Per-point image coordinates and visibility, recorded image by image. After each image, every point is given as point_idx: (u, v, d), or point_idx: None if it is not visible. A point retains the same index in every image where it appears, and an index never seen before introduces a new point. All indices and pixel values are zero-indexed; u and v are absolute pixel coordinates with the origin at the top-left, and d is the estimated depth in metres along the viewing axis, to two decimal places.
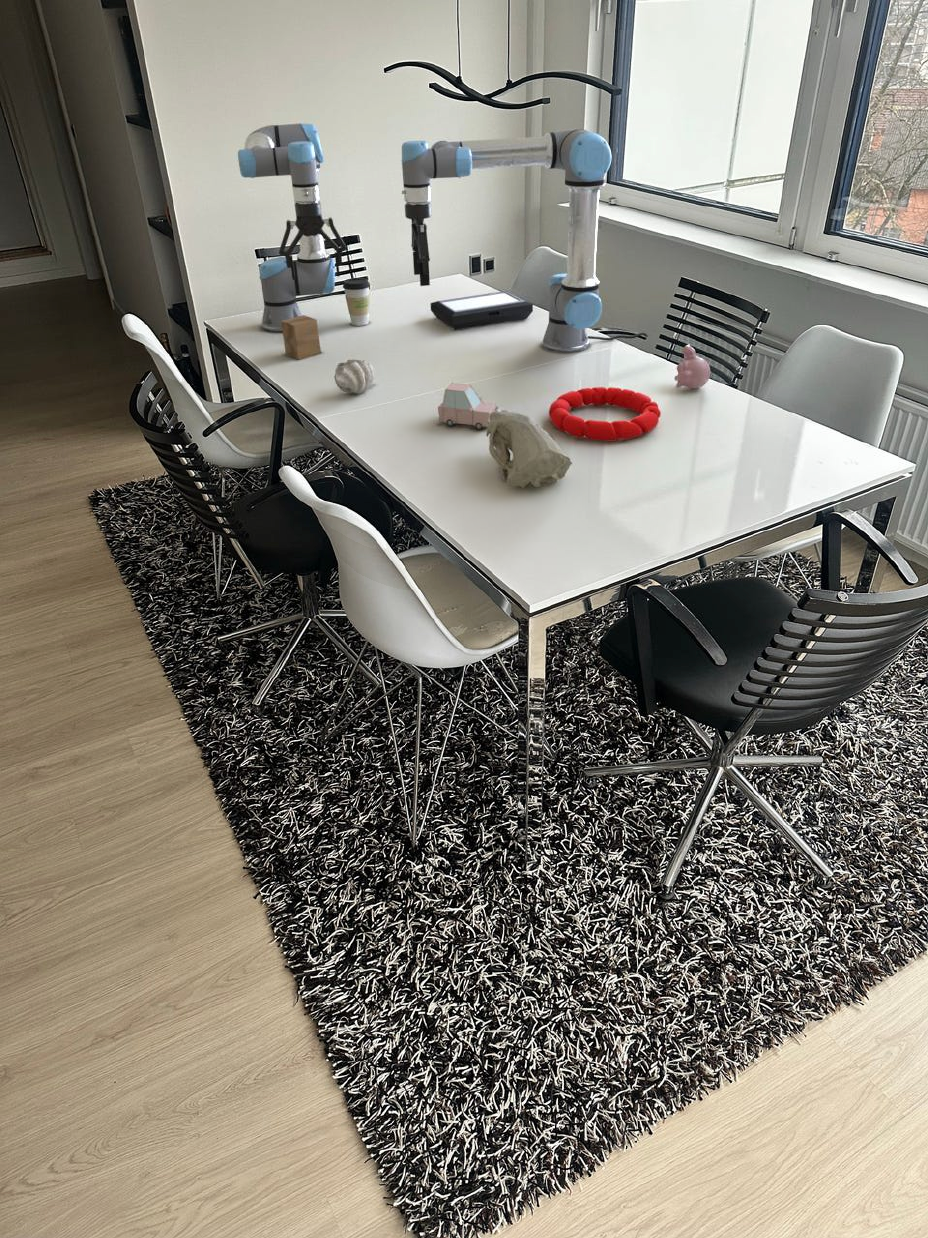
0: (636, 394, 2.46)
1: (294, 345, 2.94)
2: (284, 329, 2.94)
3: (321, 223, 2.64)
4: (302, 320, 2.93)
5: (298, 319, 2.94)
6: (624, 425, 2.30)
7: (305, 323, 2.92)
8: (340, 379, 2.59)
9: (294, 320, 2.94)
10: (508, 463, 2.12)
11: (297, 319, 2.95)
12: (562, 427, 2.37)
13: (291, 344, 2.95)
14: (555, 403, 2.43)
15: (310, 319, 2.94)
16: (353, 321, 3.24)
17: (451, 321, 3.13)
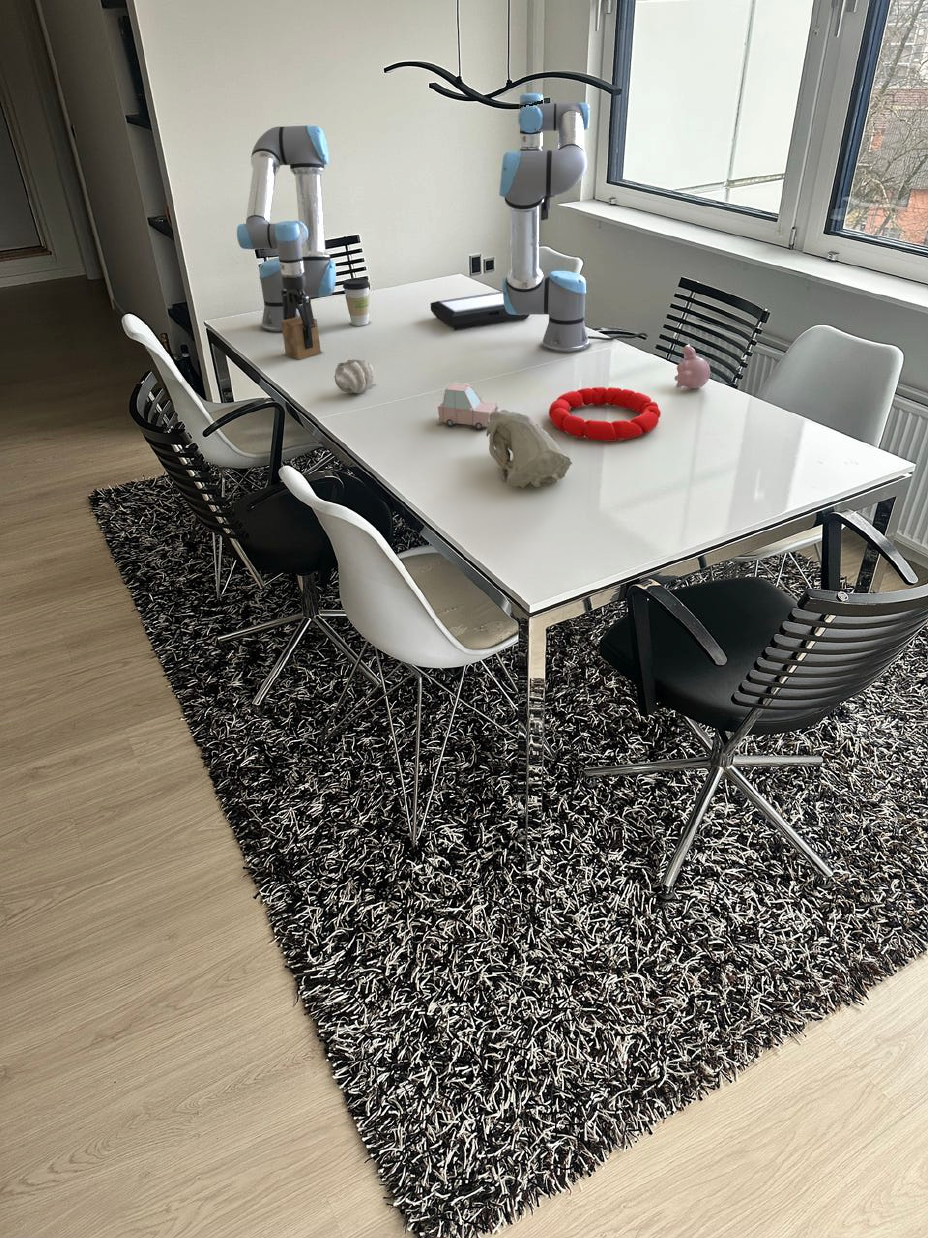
0: (636, 394, 2.46)
1: (294, 345, 2.94)
2: (284, 329, 2.94)
3: (298, 296, 2.86)
4: None
5: (298, 319, 2.94)
6: (624, 425, 2.30)
7: None
8: (340, 379, 2.59)
9: (294, 320, 2.94)
10: (508, 463, 2.12)
11: (297, 319, 2.95)
12: (562, 427, 2.37)
13: (291, 344, 2.95)
14: (555, 403, 2.43)
15: None
16: (353, 321, 3.24)
17: (451, 321, 3.13)
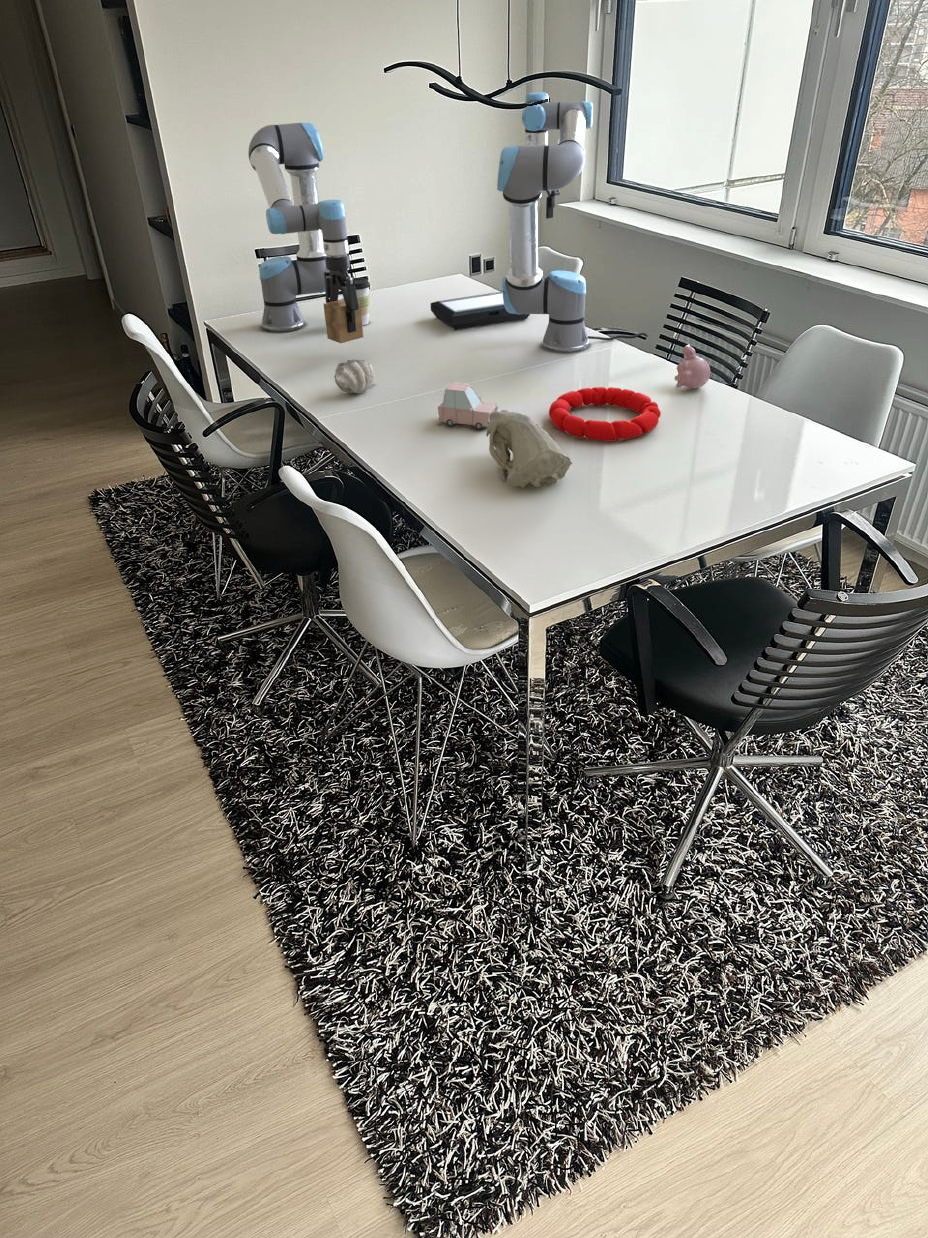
0: (636, 394, 2.46)
1: (337, 328, 2.85)
2: (326, 312, 2.85)
3: (342, 277, 2.77)
4: None
5: (341, 302, 2.85)
6: (624, 425, 2.30)
7: None
8: (340, 379, 2.59)
9: (337, 302, 2.85)
10: (508, 463, 2.12)
11: (340, 301, 2.86)
12: (562, 427, 2.37)
13: (333, 328, 2.86)
14: (555, 403, 2.43)
15: None
16: None
17: (451, 321, 3.13)
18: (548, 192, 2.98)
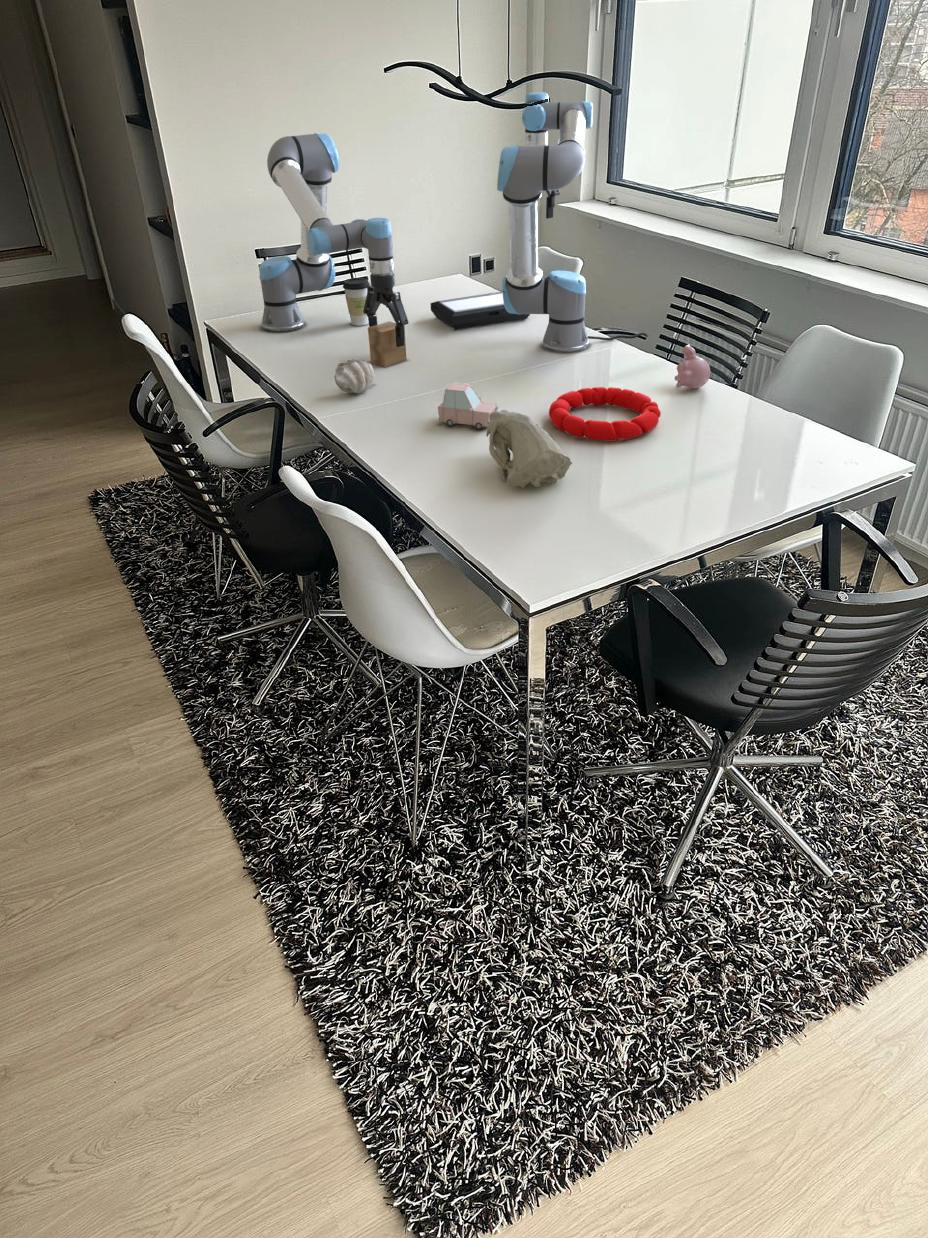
0: (636, 394, 2.46)
1: (381, 352, 2.85)
2: (371, 336, 2.85)
3: (387, 295, 2.76)
4: (389, 326, 2.84)
5: (385, 326, 2.85)
6: (624, 425, 2.30)
7: (393, 330, 2.83)
8: (340, 379, 2.59)
9: (381, 326, 2.85)
10: (508, 463, 2.12)
11: (384, 325, 2.86)
12: (562, 427, 2.37)
13: (377, 352, 2.86)
14: (555, 403, 2.43)
15: None
16: (353, 321, 3.24)
17: (451, 321, 3.13)
18: (548, 192, 2.98)
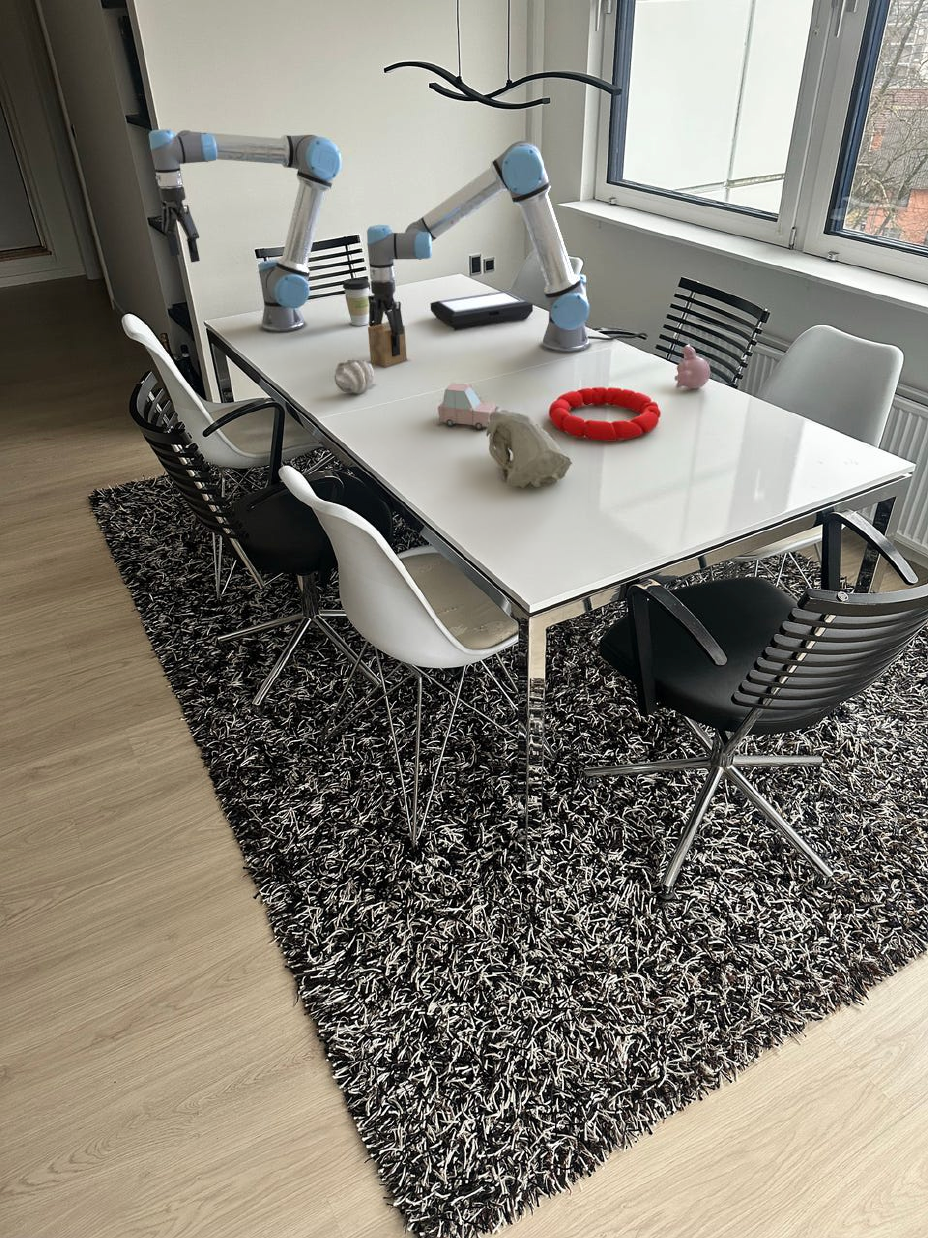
0: (636, 394, 2.46)
1: (381, 352, 2.85)
2: (371, 336, 2.85)
3: (177, 209, 2.77)
4: (389, 326, 2.84)
5: (385, 326, 2.85)
6: (624, 425, 2.30)
7: None
8: (340, 379, 2.59)
9: (381, 326, 2.85)
10: (508, 463, 2.12)
11: (384, 325, 2.86)
12: (562, 427, 2.37)
13: (377, 352, 2.86)
14: (555, 403, 2.43)
15: None
16: (353, 321, 3.24)
17: (451, 321, 3.13)
18: (392, 330, 2.81)
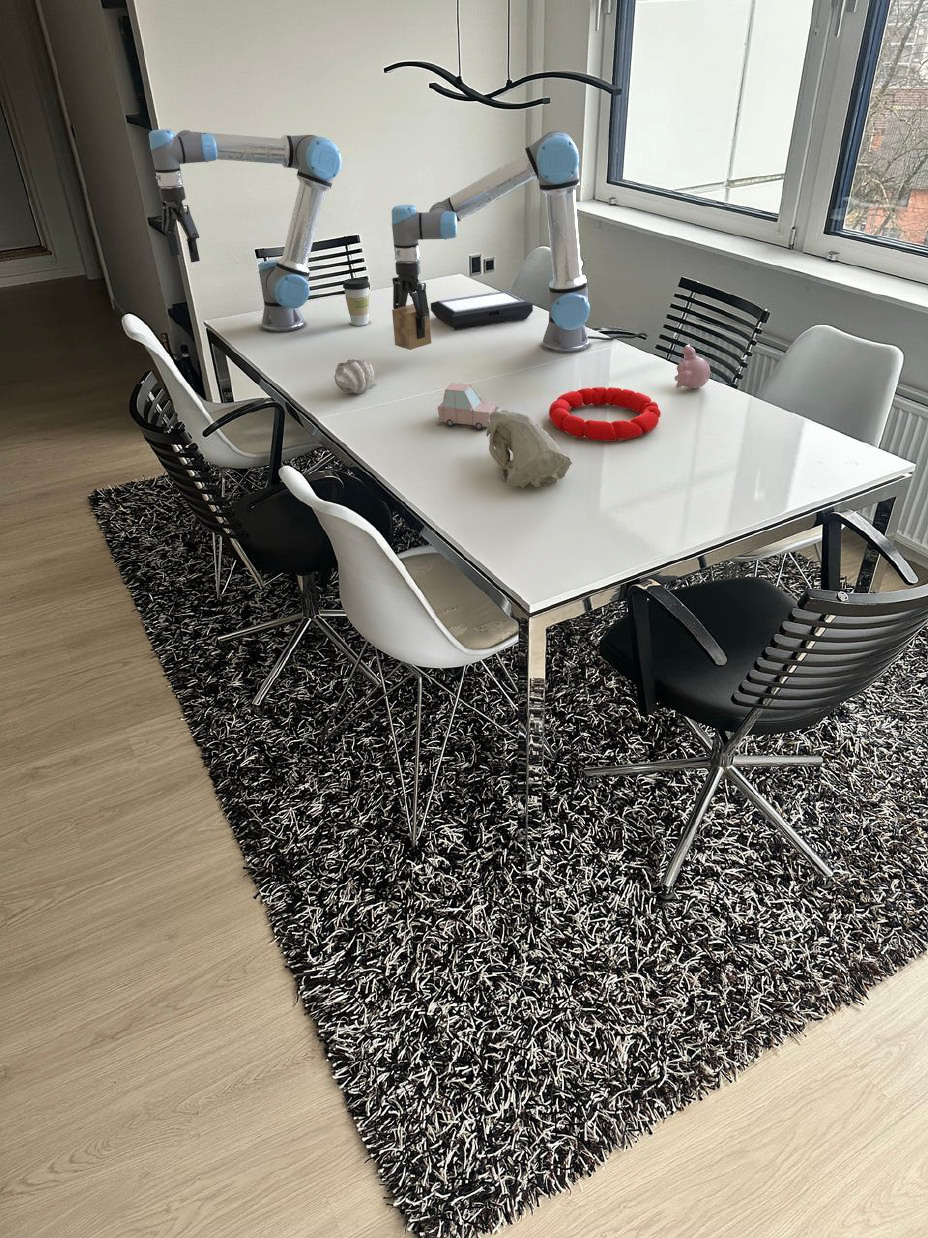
0: (636, 394, 2.46)
1: (406, 335, 2.81)
2: (395, 318, 2.82)
3: (177, 209, 2.77)
4: (414, 309, 2.81)
5: (410, 308, 2.81)
6: (624, 425, 2.30)
7: None
8: (340, 379, 2.59)
9: (406, 308, 2.81)
10: (508, 463, 2.12)
11: (408, 307, 2.82)
12: (562, 427, 2.37)
13: (402, 334, 2.82)
14: (555, 403, 2.43)
15: None
16: (353, 321, 3.24)
17: (451, 321, 3.13)
18: (417, 312, 2.78)
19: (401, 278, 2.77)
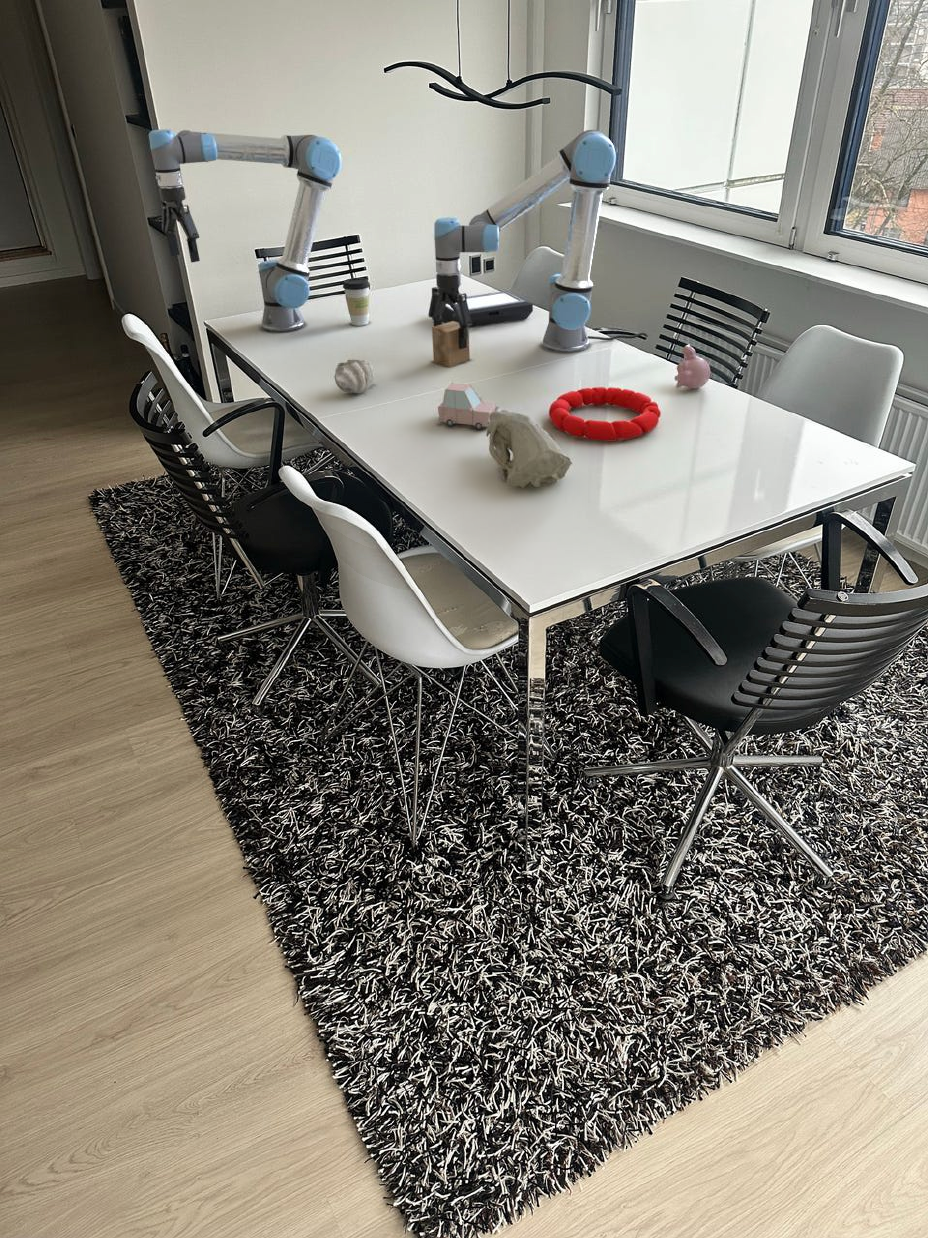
0: (636, 394, 2.46)
1: (446, 352, 2.83)
2: (435, 335, 2.84)
3: (177, 209, 2.77)
4: (454, 326, 2.83)
5: (449, 325, 2.84)
6: (624, 425, 2.30)
7: None
8: (340, 379, 2.59)
9: (445, 326, 2.83)
10: (508, 463, 2.12)
11: (448, 325, 2.84)
12: (562, 427, 2.37)
13: (441, 351, 2.85)
14: (555, 403, 2.43)
15: None
16: (353, 321, 3.24)
17: None
18: (460, 323, 2.77)
19: (441, 290, 2.78)
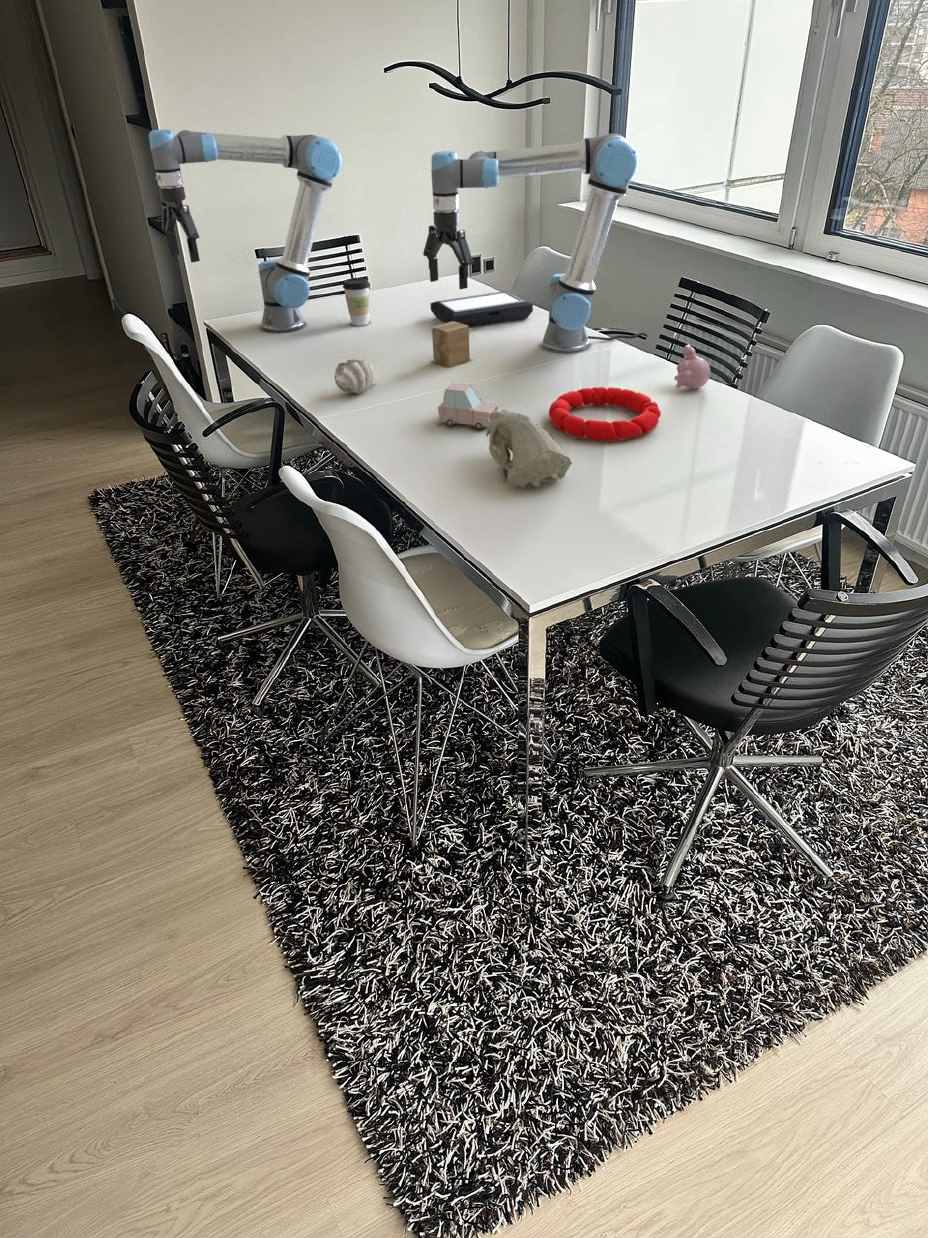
0: (636, 394, 2.46)
1: (446, 352, 2.83)
2: (435, 336, 2.84)
3: (177, 209, 2.77)
4: (454, 326, 2.83)
5: (449, 325, 2.84)
6: (624, 425, 2.30)
7: (458, 329, 2.81)
8: (340, 379, 2.59)
9: (445, 326, 2.83)
10: (508, 463, 2.12)
11: (448, 325, 2.84)
12: (562, 427, 2.37)
13: (441, 352, 2.85)
14: (555, 403, 2.43)
15: (462, 325, 2.83)
16: (353, 321, 3.24)
17: None
18: (460, 261, 2.66)
19: (439, 229, 2.68)
